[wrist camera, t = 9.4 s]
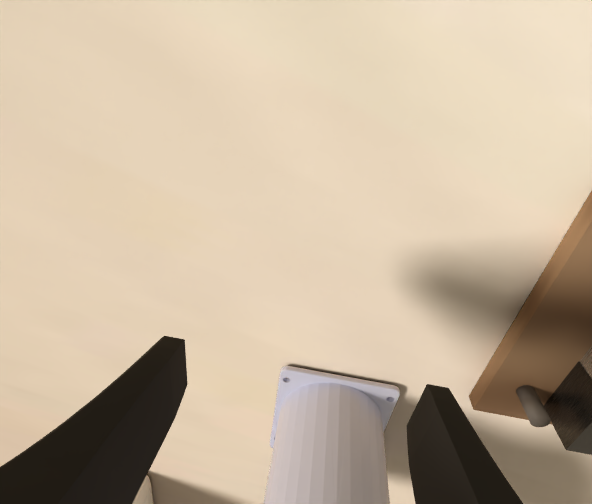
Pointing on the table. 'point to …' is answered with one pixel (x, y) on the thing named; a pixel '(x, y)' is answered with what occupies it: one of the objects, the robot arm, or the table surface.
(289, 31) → the table surface
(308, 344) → the table surface
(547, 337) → the tool board
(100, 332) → the table surface
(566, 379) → the lever door handle
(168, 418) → the robot arm
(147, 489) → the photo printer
